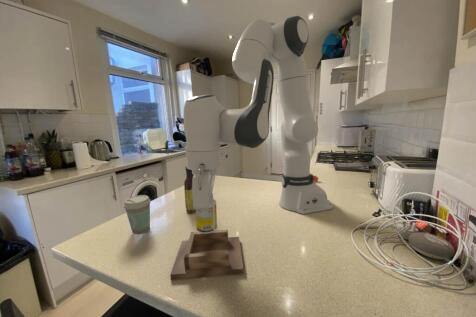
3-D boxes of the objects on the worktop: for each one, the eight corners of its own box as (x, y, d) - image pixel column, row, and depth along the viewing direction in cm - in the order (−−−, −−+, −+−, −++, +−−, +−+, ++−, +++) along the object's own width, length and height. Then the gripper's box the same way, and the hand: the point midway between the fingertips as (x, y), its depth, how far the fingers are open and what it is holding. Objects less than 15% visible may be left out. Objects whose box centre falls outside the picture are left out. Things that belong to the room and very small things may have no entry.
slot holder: (239, 240, 64) (238, 226, 63) (243, 273, 51) (242, 256, 50) (182, 245, 63) (180, 230, 62) (170, 279, 49) (168, 262, 48)
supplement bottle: (207, 222, 59) (206, 189, 57) (221, 228, 56) (220, 193, 54) (192, 229, 55) (190, 194, 53) (205, 237, 51) (204, 200, 49)
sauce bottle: (197, 215, 83) (193, 168, 79) (183, 214, 84) (179, 168, 80) (203, 208, 89) (200, 164, 85) (190, 207, 90) (186, 164, 87)
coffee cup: (129, 227, 75) (124, 197, 73) (153, 222, 78) (150, 193, 76) (126, 239, 67) (121, 206, 65) (154, 232, 71) (149, 201, 68)
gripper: (214, 169, 41) (216, 230, 44) (217, 153, 61) (219, 195, 64) (183, 171, 41) (187, 232, 44) (197, 153, 61) (199, 196, 64)
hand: (206, 210), depth 54 cm, fingers closed on supplement bottle, 6 cm apart
